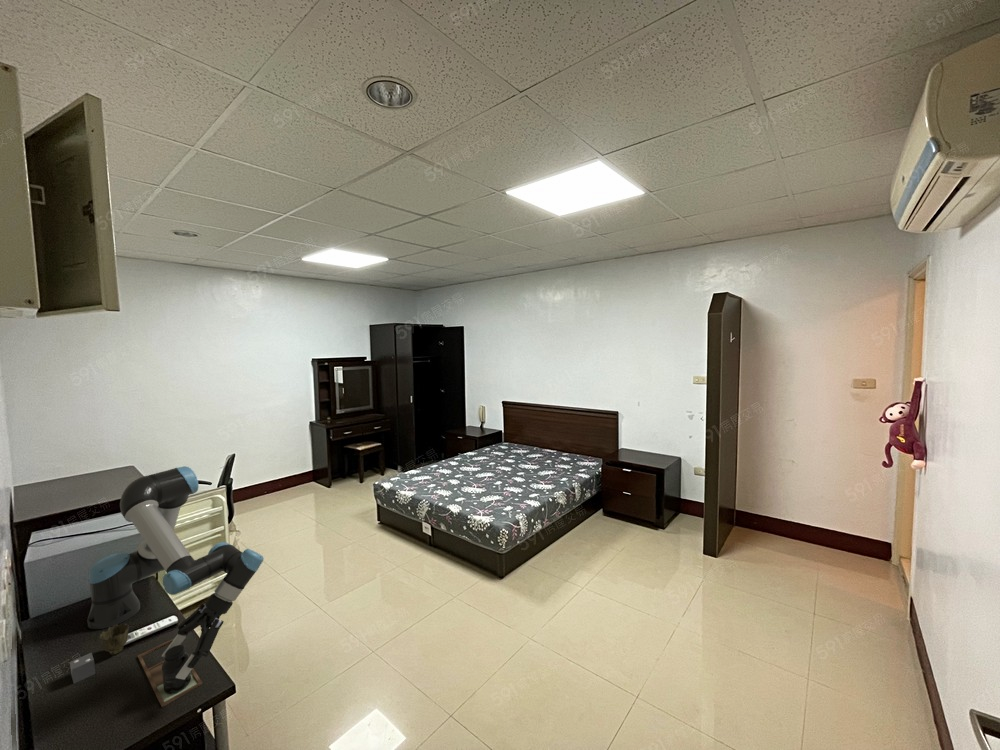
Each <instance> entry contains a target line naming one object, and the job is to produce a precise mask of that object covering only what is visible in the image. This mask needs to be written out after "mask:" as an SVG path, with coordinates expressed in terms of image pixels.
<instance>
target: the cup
mask: <svg viewBox="0 0 1000 750" xmlns="http://www.w3.org/2000/svg"><path fill="white" fill-rule="evenodd" d="M129 626H130V625H129V624H128V623H124V624H122V623H119V624H117V625H114V626H111V627H108V628H107V631H102V632H101V633H100V634H99V640H100V644H101V646H102V649H103V650H104V651H105V652H108V654H109V655H117V654H119V653H121V652H122V651H123V650H124V646H125V645H126V643H127V641H128V638H129V628H130V627H129Z"/></svg>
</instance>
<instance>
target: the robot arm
mask: <svg viewBox="0 0 1000 750" xmlns="http://www.w3.org/2000/svg"><path fill="white" fill-rule="evenodd" d="M199 486H200V485H199V480H198V478H197V475H196V473H195V472H194V470H193V469H192V468H191V467H189V466H184V465H183V466H180V467H174V468H170V469H167V470H163V471H160V472H155V473H153V474H148V475H143V476H141V477H138V478H136V479H134V480H133V481H132V482H131V483H129V484H128V485H127V486H126V487H125V489H124V491H123V493H122V495H121V497H120V501H119V508H120V513H121V515H122V517H123V519H124V520H125V521H126V522H128V523H132V524H133V526H134V527H135V529H136V530H137V532H138V533H139V535H140V536H141V537H142V539H143V540H142V541H141V542H140V543H139V544H138V547H137V550H135V551H133V552H130V553H128V552H125V551H123V552H117V553H112V554H110V555H108V556H105V557H103V558H101V559H99V560H97V561H96V562H95V563H94V564H93V565H92V566H91V567H90V569H89V571H88V583H89V590H90V598H91V606H90V610H89V613H88V617H87V619H86V621H87V622H86V623H87V627H88V628H89V629H90V630H103V629H108V628H109V627H111V628H112V627H113V626H114V625H120V624H122V623H124V622H126V621H127V620H129V619H131V618H132V617H134V616H135V615H136V614H138V612H139V611H140V609H141V602H140V599H139V598H138V597H137V595H136V593H135V592H134V590H133V584H134V583H136V582H139V581H141V580H143V579H146V578H148V577H150V576H153V575H155V574H157V573H160V572H162V571H165V574H164V575H163V576H162V577H163V578H162V586H163V587H164V590H165V592H166V593H167V594H169V595H171V596H173V595H177V594H180V593H182V592H185V591H187V590H189V589H190V588H192V587H195V586H196V585H198V584H199V583H201V582H204V581H206V580H208V579H210V578H212V577H214V576H216V575H218V574H220V573H222V572H224V573H225V576H224V577H223V579H222V580H221V581H220V583H219V584H218V585H217V586H216V587H215V589H214V591H213V592H214V593H212V594H211V595H210V596H209V597H208V599H207V600H206V601H205V602H204V603H201V604H200V605H199V607H197V609H196V610H195V611H194V612H192V613H191V614H190V615H188V617H187V618H185V620H183V621H181V623H180V624H179V625H177V629H178V630H177V634H176V635H175V637H174V638H173V639H174V640H173V641H172V642H171V643H169V644H168V647H166V649H165V650H164V651H163V653H162V654H161V657H162V658H165V653H166V651H167V650H169V649H170V648H172V647H174V646H177V645H182V643H183V642H184V641H185V639H186V638H187V637H186V636H188V635H189V633H191V632H192V631H193V630H196V628H198V627H200V632H201V633H200V636H199V639H198V642H197V645H196V649H195V651H194V652H192V653H191V654H190V655H189V659H188V660H187V661H186V663H185V664H184V666H183V667H182V668H181V670H180V671H179V673H178V674H177V675H176V678H178V679H184V680H185V678H186V677H187V675H188V674H189V673H190V671H191V670H192V668H193V669H194V667H196V665H197V664H198V662H199V660H200V659H201V658H203V657H204V658H207V657H208V656H209V653H210V651H211V649H212V647H213V644H214V642H215V640H216V637H217V636H218V633H219V631H220V629H221V627H222V625H223V624H224V620H221V619H220V618H221V616H222V615H225V614H227V613H228V612H229V610H230V609H231V607H232V606H233V604H234V601H236V600H237V599H238V597H239V596H240V594H241V593H242V591H243V590H244V589H245V587H246V586H247V585H248V583H249V582H250V580H251V579H252V578H253V577H254V575H255V573H257V571H258V570H259V568H260V566H261V565H262V564H263V562H264V556H263V555H262V554H260V553H258V552H257V551H254V550H253V549H250V548H245V550H244V551H243V552H242V551H241V550H240V549H239V548H237V547H235V546H234V545H232V544H230V543H228V542H224V541H221V542H219V543H216V544H214V546H213V547H211V548H210V550H209V551H208V553H207V554H206V555H203V556H201V557H199V558H197V559H194V557H193V556H192V555H191V553H190V552H189V551H188V549H187V548H186V547H185V545H184V544H183V542H182V541H181V539H180V538H179V536H178V535H177V534H176V533H175V528H176V524H177V520H178V517H179V513H180V511H181V507H183V506H185V504H186V503H187V502H188V499H189V496H190V495H194V494H196V493H197V492H198V491H199Z"/></svg>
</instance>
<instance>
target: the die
mask: <svg viewBox="0 0 1000 750" xmlns="http://www.w3.org/2000/svg"><path fill="white" fill-rule="evenodd" d="M69 665H70V668H69V669H70V674H71V679H72V682H73V684H77V683H79V682H81V681H83V680H86V679H87V678H89V677H91V676H93V675H95V674H96V666H95V665H96V664H95V659H94V657H93V653H92V652H90V653H87V654H85V655H83V656H80V657H78V658H76V659H73V660H71V661H69Z"/></svg>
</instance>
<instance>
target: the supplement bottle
mask: <svg viewBox="0 0 1000 750" xmlns="http://www.w3.org/2000/svg"><path fill="white" fill-rule="evenodd" d="M189 657H190V655H189V653H188V652H186V649H185V646H184V644H180V645H177V646H174V647H172V648H170V649H169V650H167V651H166V653H165V657H164V660H165V661H164V660H163V661H164V662H163V664H162V676H163V687H164V692H165V693H167V694H173V693H177V692H179V691H181V690H183V689H184V688H185V687H186V686H187V685H188V684H189V683H190V681H191V671H190V673H189V674H188V675H187V677H186V678H185V680H184V679H178V678H176V675H177V674H178V673H179V671H180V670H181V668H182V667H183V666H184V664H185V663H186V661H187V660H188V659H189Z"/></svg>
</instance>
